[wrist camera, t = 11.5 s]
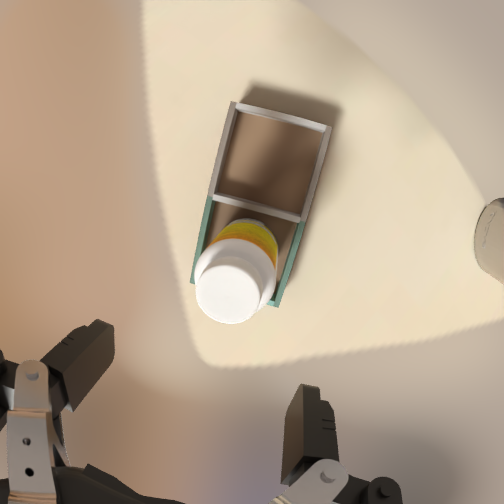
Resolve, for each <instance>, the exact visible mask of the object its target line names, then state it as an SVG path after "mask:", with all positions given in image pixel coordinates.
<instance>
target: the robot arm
mask: <svg viewBox="0 0 504 504" xmlns="http://www.w3.org/2000/svg"><path fill="white" fill-rule="evenodd" d="M474 247H475V255H476V259H477V261H478V264H479V265H480V267H481V268H482V269H483V270H484V271H485V272H487V273H488V274H490V275H491V276H492V277H494V278H495V279H497V280H498V281H500V282H501V283H502V284H503V285H504V198H498V199H496V200H494V201H492V202H491V203H490V204H489V205H488V206H487V207H486V208H485V210H484V211H483V213H482V215H481V217H480V219H479V222H478V224H477V228H476V232H475V240H474ZM114 348H115V347H114V327H113V325H111V324H108V323H106V322H104V321H101V320H99V319H96V320H95V321H94V322H92V324H90V325H89V326H88V327H87V326H85V325H84V326H81V327H79V328H76V329H74V330H73V331H72V332H71V333H69V334H68V335H67V337H65V338H64V339H63V340H62V341H61V343H60V342H59V343H58V344H57V345H56V346H55V347H54V348H53V349H52V350H51V351H49V352H48V353H47V354H46V355H45V356H44V357H43V358H42V359H41V360H40V361H37V360H26V361H24V362H22V363H21V364H17V363H14V362H11V361H8V360H5V359H4V356H3V353H2V351H1V350H0V431H1V430H2V428H3V427H4V426H5V425H6V423H7V463H8V475H9V478H6V479H0V504H185V503H181V502H178V501H175V500H168V499H160V498H153V497H147V496H142V495H139V494H138V493H136V492H135V491H133V490H132V489H131V488H129V487H127V486H126V485H125V484H123V483H122V482H121V481H119V480H118V479H117V478H115V477H114V476H112V475H109V474H107V473H105V472H103V471H101V470H99V469H97V468H96V467H94V466H92V465H90V464H87V466H86V467H85V469H83V468H78V467H71V466H70V463H69V460H68V457H67V453H66V448H65V442H64V435H63V427H62V418H61V413H60V412H61V411H62V410H63V408H66V409H68V410H69V411H71V412H74V410H75V409H76V408H77V406H78V405H79V404H80V403H81V401H82V400H83V399H84V397H85V396H86V395H87V393H88V392H89V391H90V390H91V389H92V387H93V386H94V385H95V384H96V382H97V381H98V380H99V379H100V377H101V376H102V375H103V374H104V372H105V371H106V370H107V369H108V367H109V366H110V365H111V363H112V361H113V359H114V353H115V349H114ZM334 422H335V417H334V411H333V409H332V408H331V406H330V404H329V402H328V401H324V400H320V389H319V388H318V387H315V386H310V385H305V384H300V386H299V387H298V389H297V391H296V393H295V395H294V397H293V399H292V401H291V403H290V405H289V407H288V410H287V412H286V417H285V426H284V442H283V458H282V471H281V484H284V485H289V488H288V489H287V490H286V491H284V492H283V493H282V494H281V495H280V496H278V497H276V498H275V499H274V500H272V501H271V502H269V503H268V504H403V503H402V495H401V490H400V487H399V485H398V484H397V483H396V482H395V481H394V480H393V479H391V478H388V477H378V478H375V479H374V480H372V481H371V482H369V481H365V480H362V479H359V478H356V477H353V476H351V475H349V474H348V472H347V470H346V468H345V467H344V466H343V465H342V464H341V463H340V462H339V455H338V445H337V435H336V431H335V430H336V426H335V423H334Z"/></svg>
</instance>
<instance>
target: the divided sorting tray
mask: <svg viewBox="0 0 504 504" xmlns="http://www.w3.org/2000/svg"><path fill="white" fill-rule="evenodd" d="M331 131H332V127H330V126H327V125H324V124H320V123H317V122H314V121H310V120H307V119H303V118H300V117H296V116H293V115H289V114H285V113H281V112H277V111H273V110H269V109H265V108H260V107H256V106H251V105H247V104H242V103H237V102H232V101H231V103H230V106H229V110H228V114H227V117H226V121H225V125H224V129H223V133H222V137H221V140H220V144H219V148H218V152H217V157H216V161H215V165H214V169H213V173H212V177H211V182H210V186H209V190H208V195H207V199H206V204H205V208H204V213H203V218H202V222H201V227H200V232H199V237H198V242H197V247H196V252H195V257H194V262H193V268H192V273H191V278H190V283H193V284H195V279H194V272H195V267H196V264H197V261H198V259H199V257H200V256H201V254H202V253H203V252H204V250H205V249H206V248H207V247H208V246H209V245H210V244H211V242H212V241H213V240H214V239H215V238H216V237H217V235H218V234H219V233H220V232H221V231H222V230H223V229H224V228H225V227H226V226H227V225H228V224H230V223H231V222H233V221H235V220H238V219H243V218H250V219H255V220H258V221H261V222H263V223H264V224H266V225H267V226H268V227H269V228H270V229H271V230H272V232H273V233H274V235H275V237H276V239H277V243H278V264H277V277H276V286H275V290H274V293H273V295H272V297H271V299H270V300H269V302H268V303H267V305H270V306H274V307H279V304H280V301H281V298H282V295H283V292H284V289H285V286H286V283H287V280H288V277H289V274H290V271H291V268H292V265H293V262H294V258H295V255H296V252H297V249H298V246H299V242H300V239H301V236H302V233H303V229H304V226H305V223H306V219H307V216H308V213H309V209H310V206H311V203H312V199H313V196H314V192H315V189H316V185H317V182H318V178H319V175H320V171H321V168H322V164H323V160H324V157H325V153H326V149H327V146H328V142H329V138H330V134H331Z"/></svg>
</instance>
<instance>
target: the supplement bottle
mask: <svg viewBox="0 0 504 504" xmlns="http://www.w3.org/2000/svg"><path fill="white" fill-rule="evenodd" d="M277 264H278V243H277V239H276V237H275V235H274V233H273V232H272V230H271V229H270V228H269V227H268V226H267V225H266V224H264V223H263V222H261V221H258V220H255V219H250V218H243V219H238V220H235V221H233V222H231V223H230V224H228V225H227V226H226V227H225V228H224V229H223V230H222V231H221V232H220V233H219V234H218V235H217V237H216V238H215V239H214V240H213V241H212V242H211V244H210V245H209V246H208V247H207V248H206V249H205V250H204V252H203V253H202V254H201V256H200V257H199V259H198V261H197V264H196V267H195V272H194V279H195V285H196V298H197V301H198V304H199V306H200V307H201V309H202V310H203V311H204V312H205V313H206V314H207V315H208V316H209V317H211V318H212V319H214V320H216V321H218V322H222V323H227V324H235V323H240V322H243V321H245V320H247V319H249V318H250V317H251V316H252V315H253V314H254V313H255V312H257V311H259V310H260V309H262V308H263V307H264V306H265V305H266V304H267V303H268V302H269V300H270V299H271V297H272V295H273V293H274V290H275V286H276V277H277Z"/></svg>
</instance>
